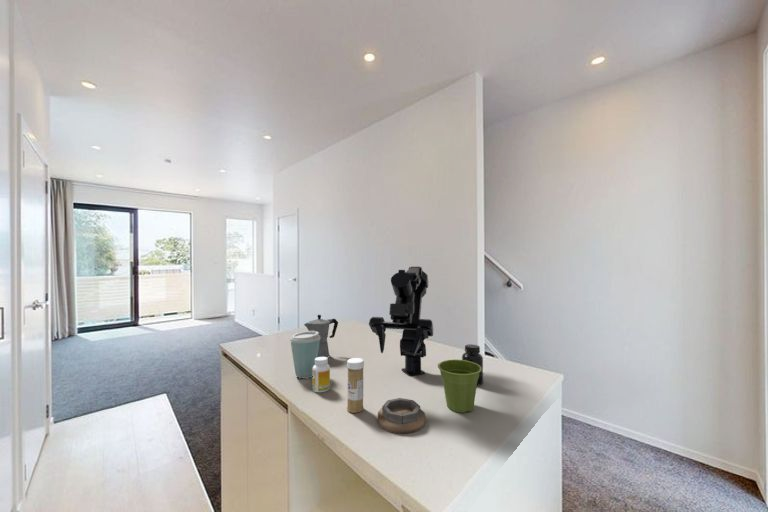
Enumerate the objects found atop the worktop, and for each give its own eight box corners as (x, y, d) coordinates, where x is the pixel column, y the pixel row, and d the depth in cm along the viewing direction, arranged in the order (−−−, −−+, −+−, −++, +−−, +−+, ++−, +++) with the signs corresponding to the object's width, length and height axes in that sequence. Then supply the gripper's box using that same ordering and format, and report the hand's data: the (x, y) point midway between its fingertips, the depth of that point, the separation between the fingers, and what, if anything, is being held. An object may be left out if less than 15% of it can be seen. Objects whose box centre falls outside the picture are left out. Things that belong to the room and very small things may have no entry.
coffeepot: (308, 363, 121) (308, 318, 121) (300, 357, 128) (300, 314, 129) (342, 356, 130) (342, 314, 130) (333, 351, 137) (333, 311, 138)
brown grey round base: (370, 414, 80) (370, 400, 80) (411, 405, 84) (411, 393, 84) (389, 438, 68) (389, 422, 69) (434, 427, 73) (434, 412, 73)
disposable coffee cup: (297, 384, 100) (297, 338, 100) (284, 375, 108) (284, 332, 108) (325, 376, 107) (326, 333, 107) (311, 368, 115) (311, 328, 115)
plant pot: (435, 397, 90) (435, 359, 90) (475, 397, 89) (475, 359, 89) (441, 417, 78) (441, 373, 78) (487, 418, 77) (487, 374, 78)
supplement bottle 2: (484, 386, 97) (484, 349, 97) (462, 385, 98) (462, 348, 99) (481, 378, 104) (481, 343, 104) (461, 377, 105) (461, 342, 106)
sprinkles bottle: (343, 410, 82) (343, 360, 82) (355, 404, 85) (355, 356, 86) (355, 415, 79) (355, 363, 79) (367, 409, 82) (367, 359, 83)
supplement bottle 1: (332, 387, 97) (332, 356, 97) (324, 394, 92) (324, 361, 92) (318, 385, 99) (318, 355, 99) (309, 391, 94) (309, 360, 94)
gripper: (369, 290, 91) (358, 339, 81) (431, 292, 86) (428, 343, 76) (377, 309, 99) (368, 355, 89) (434, 312, 94) (431, 360, 85)
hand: (397, 353), depth 85 cm, fingers open, 9 cm apart
